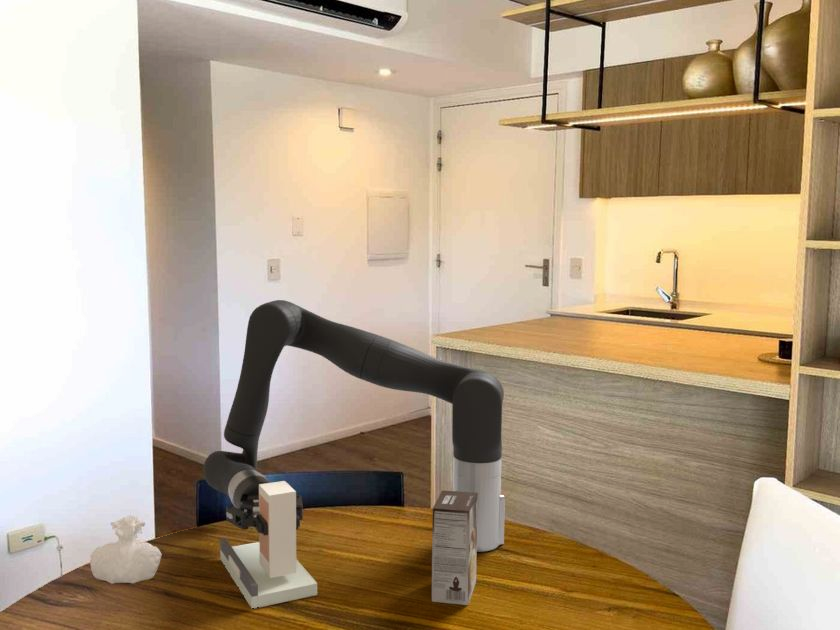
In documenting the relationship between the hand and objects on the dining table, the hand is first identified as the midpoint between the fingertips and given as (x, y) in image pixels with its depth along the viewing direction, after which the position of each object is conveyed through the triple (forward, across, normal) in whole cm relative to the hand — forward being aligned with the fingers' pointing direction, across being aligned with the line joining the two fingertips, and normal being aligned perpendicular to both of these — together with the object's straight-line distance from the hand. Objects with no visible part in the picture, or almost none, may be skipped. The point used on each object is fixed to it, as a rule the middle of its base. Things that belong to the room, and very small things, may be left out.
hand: (281, 526), depth 130 cm
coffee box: (+12, +26, +12) cm, 31 cm away
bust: (-18, -22, +12) cm, 31 cm away
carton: (-2, 0, +8) cm, 8 cm away
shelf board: (-7, 0, +11) cm, 13 cm away
